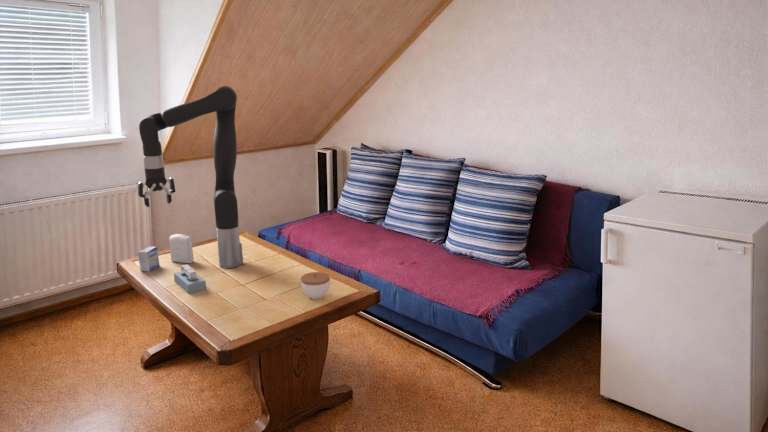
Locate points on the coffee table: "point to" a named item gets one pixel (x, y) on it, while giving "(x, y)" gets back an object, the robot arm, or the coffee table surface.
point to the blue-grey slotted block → (190, 286)
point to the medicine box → (148, 258)
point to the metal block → (188, 272)
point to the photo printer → (181, 248)
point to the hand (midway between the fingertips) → (158, 204)
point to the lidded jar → (315, 284)
